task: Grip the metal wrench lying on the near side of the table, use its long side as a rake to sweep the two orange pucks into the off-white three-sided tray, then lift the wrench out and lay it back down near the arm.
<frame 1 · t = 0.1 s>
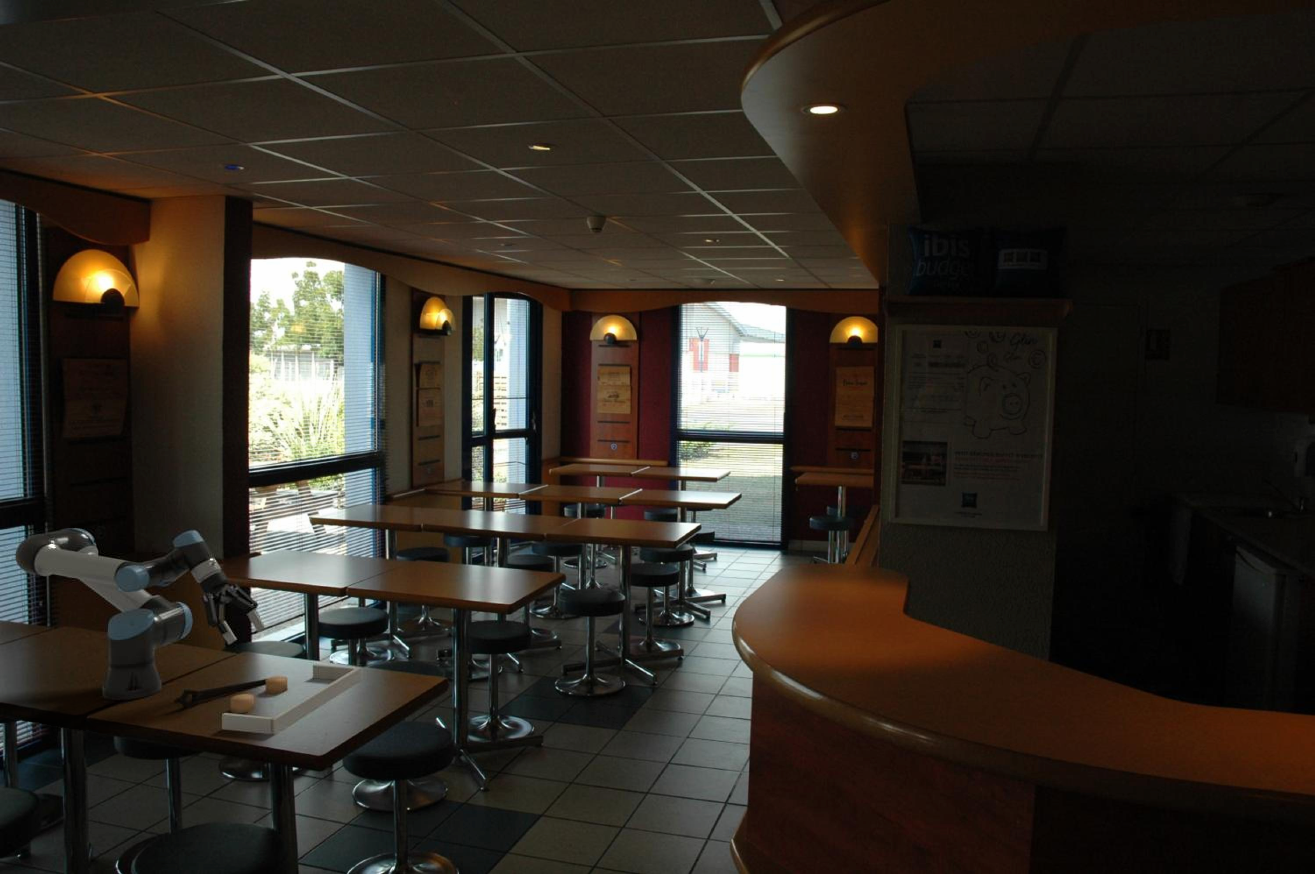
hand: (247, 635, 274), 15 cm above the table, tool tilted 35°, fingers open, 13 cm apart
puck b: (276, 690, 270), on the table
puck a: (242, 709, 255), on the table
wrench: (228, 698, 264), on the table
chip tray: (295, 702, 260), on the table
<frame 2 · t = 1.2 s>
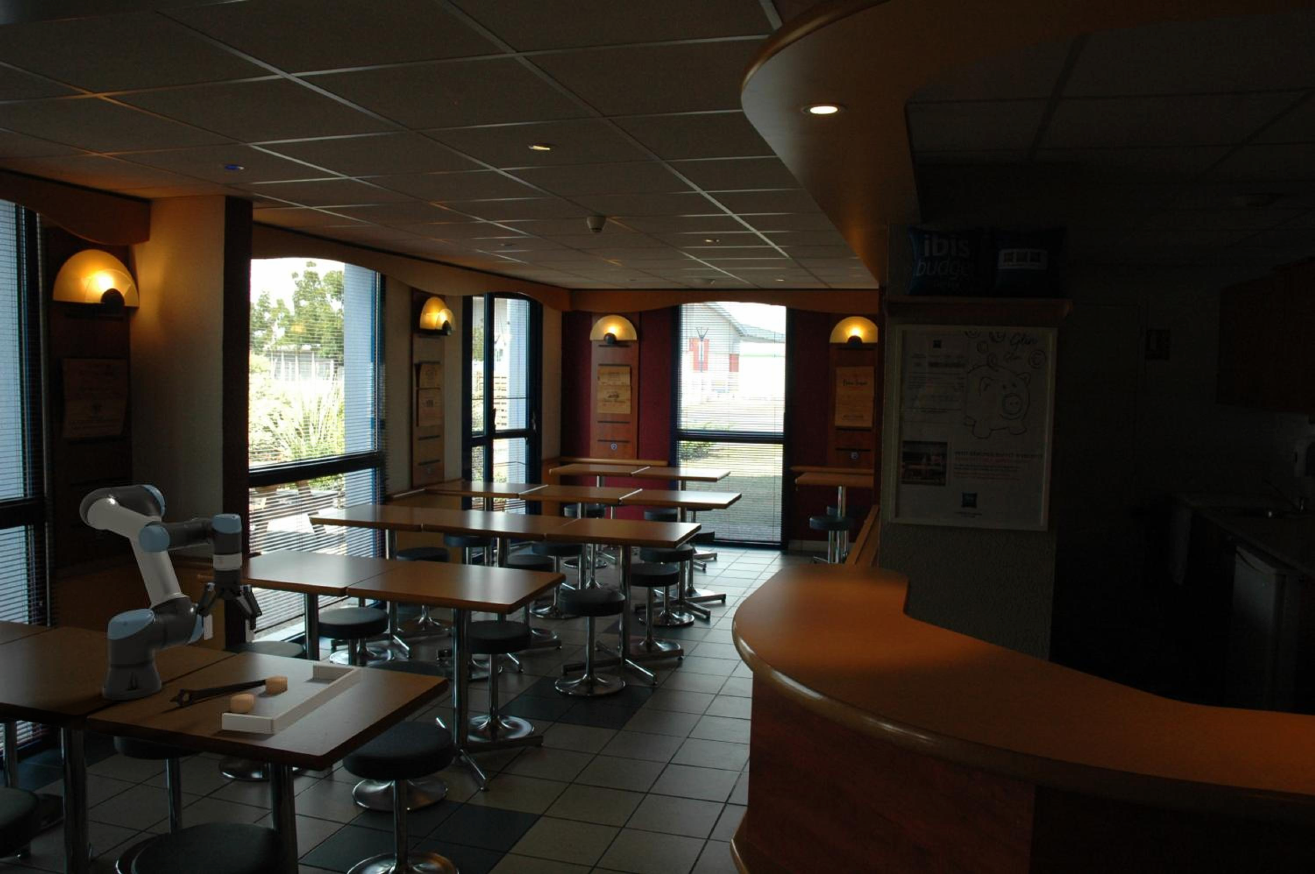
hand: (229, 639, 264), 17 cm above the table, tool pointing down, fingers open, 13 cm apart
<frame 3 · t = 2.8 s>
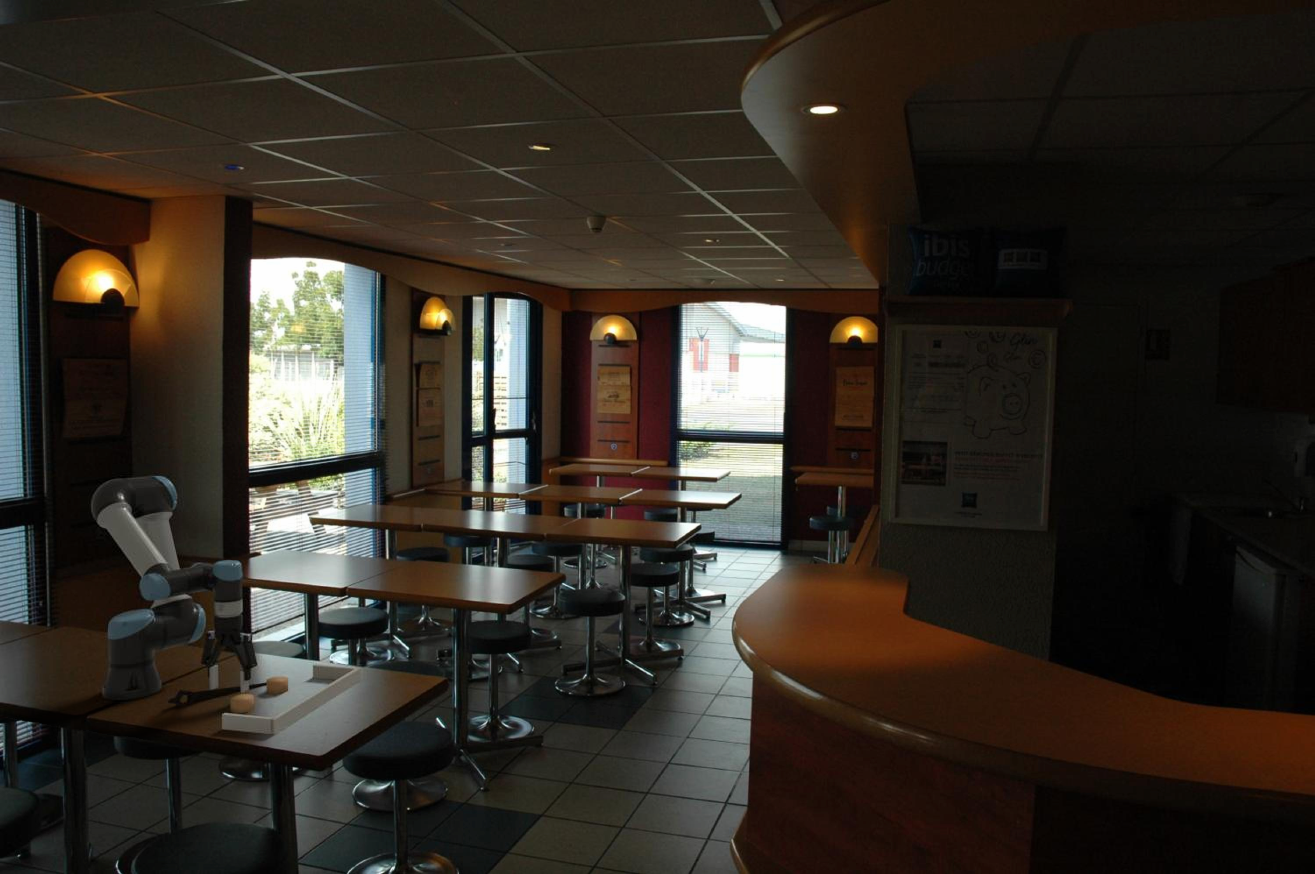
hand: (229, 689, 264), 2 cm above the table, tool pointing down, fingers open, 9 cm apart
wrench: (225, 700, 264), on the table, touching gripper
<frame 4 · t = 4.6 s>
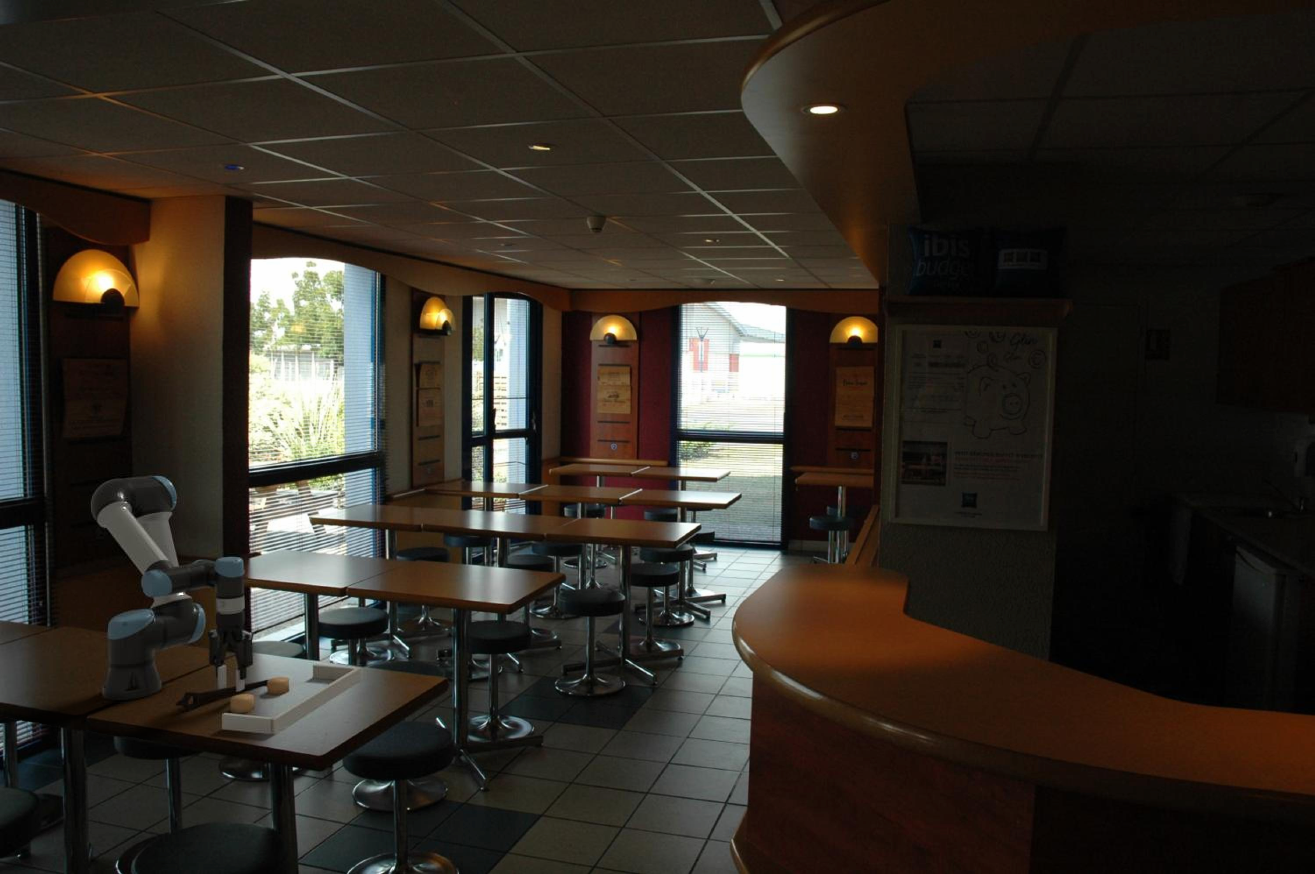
hand: (231, 689, 264), 2 cm above the table, tool pointing down, fingers open, 5 cm apart
wrench: (229, 700, 263), on the table, touching gripper
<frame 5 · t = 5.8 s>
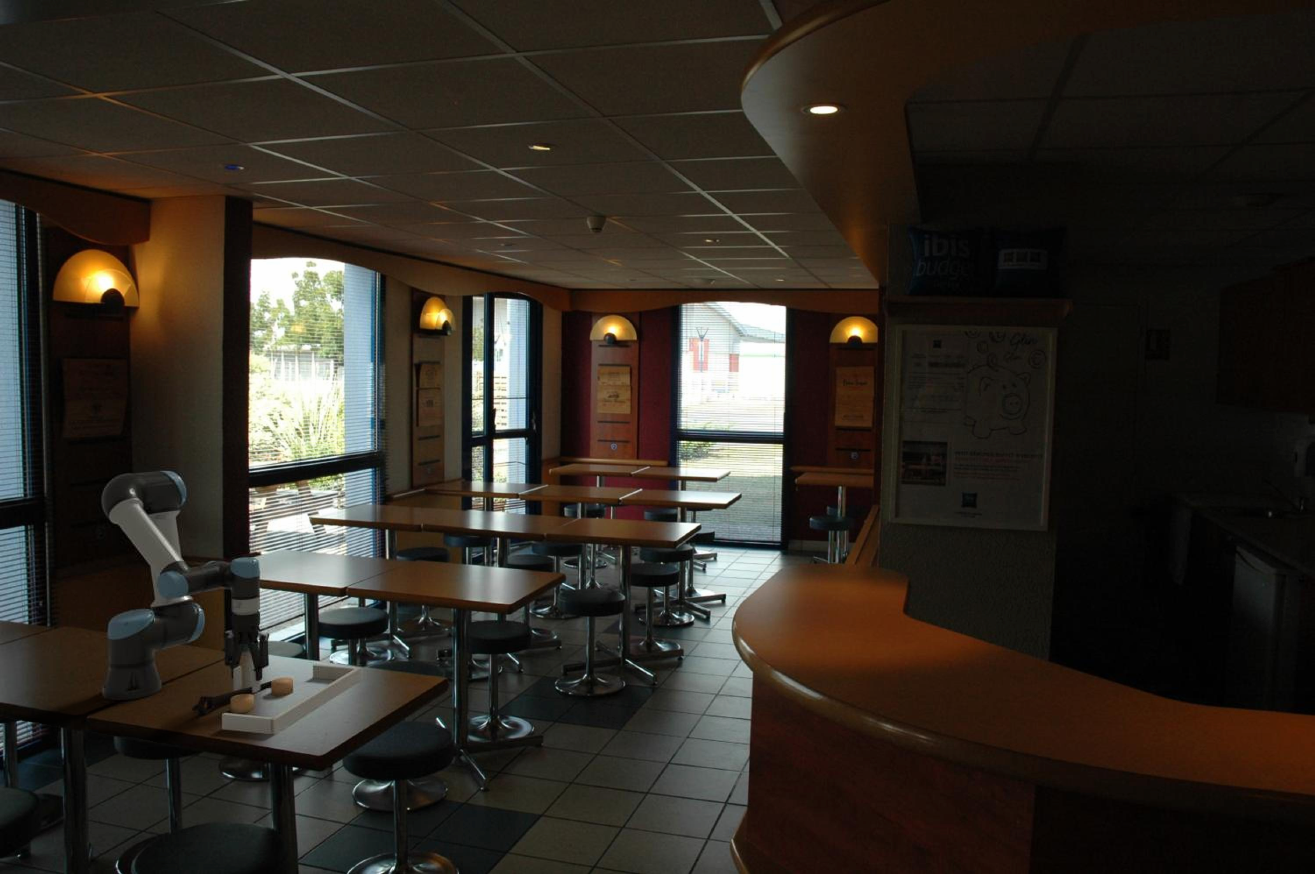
hand: (247, 690, 263), 2 cm above the table, tool pointing down, fingers open, 5 cm apart
puck b: (282, 692, 269), on the table, touching wrench
wrench: (240, 703, 261), on the table, touching puck b
everything else where it was.
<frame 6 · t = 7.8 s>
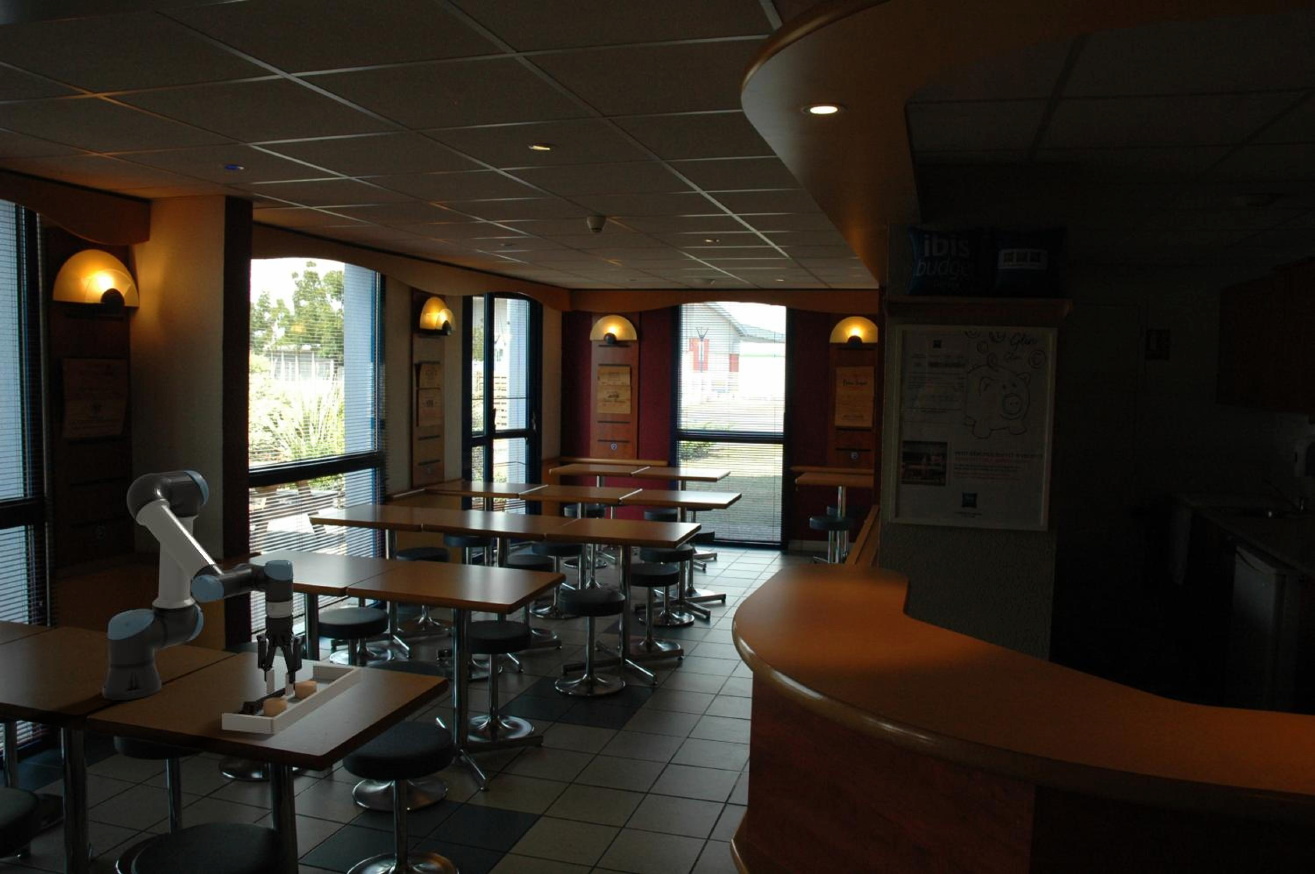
hand: (280, 693, 261), 2 cm above the table, tool pointing down, fingers open, 5 cm apart
puck b: (305, 695, 266), on the table, touching wrench
puck a: (275, 713, 252), on the table
wrench: (274, 706, 259), on the table, touching gripper, puck b
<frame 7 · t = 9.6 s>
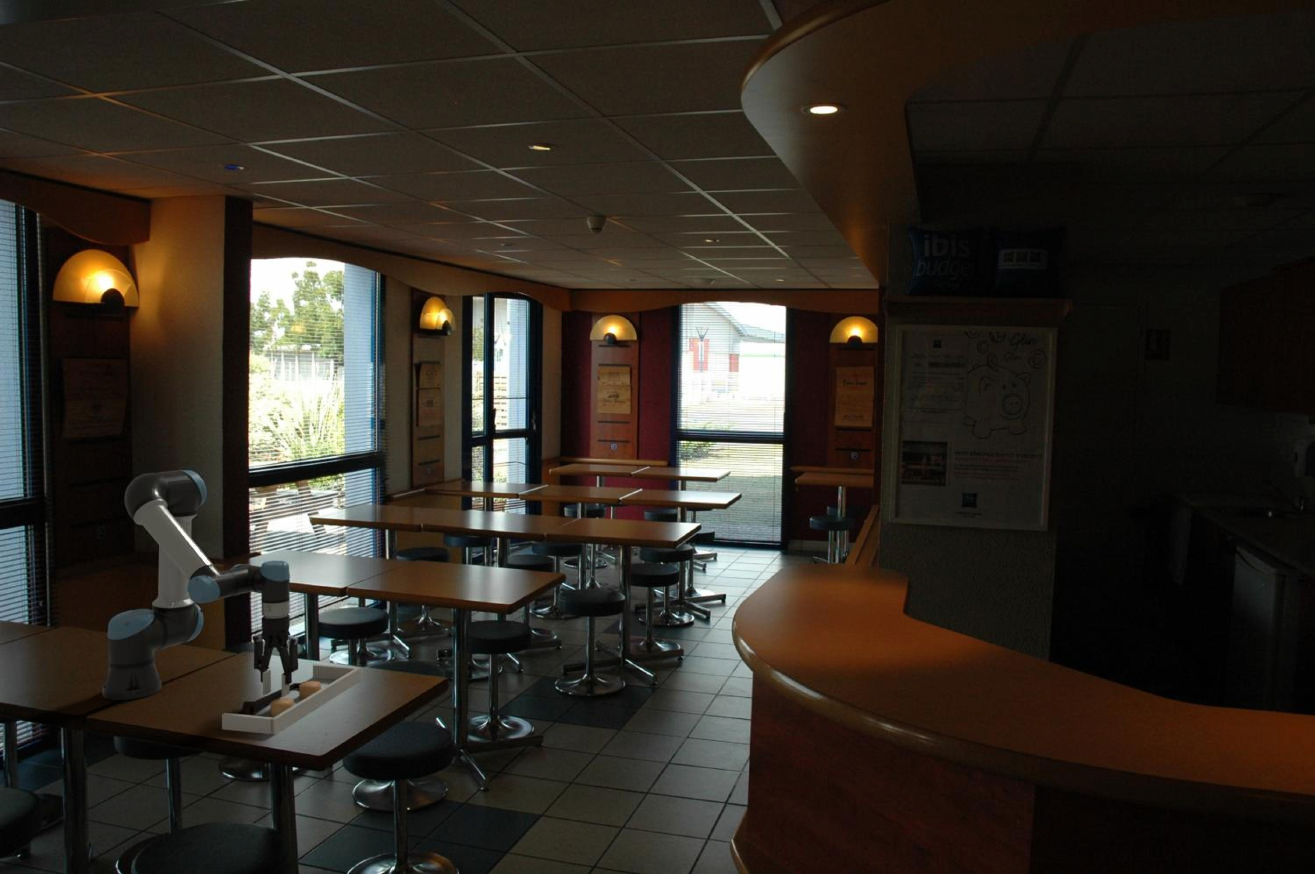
hand: (276, 693, 261), 2 cm above the table, tool pointing down, fingers open, 5 cm apart
puck b: (310, 696, 266), on the table
puck a: (282, 714, 252), on the table
wrench: (275, 706, 258), on the table
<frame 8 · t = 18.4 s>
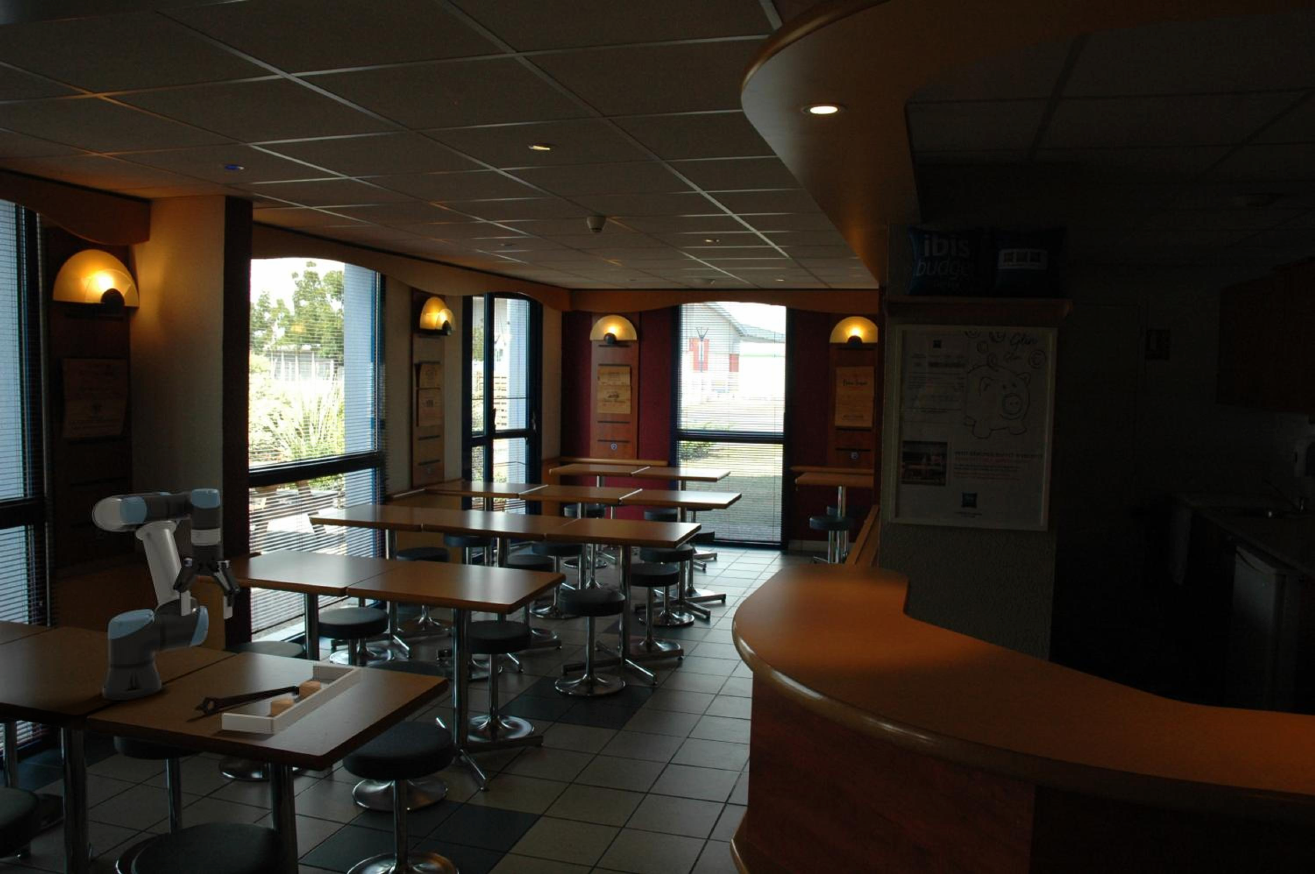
hand: (206, 616, 260), 25 cm above the table, tool pointing down, fingers open, 13 cm apart
wrench: (251, 706, 259), on the table
everything else where it was.
at the end: puck a inside the target area (8.5 cm from its centre), on the table; puck b inside the target area (6.2 cm from its centre), on the table; the gripper is holding nothing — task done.
